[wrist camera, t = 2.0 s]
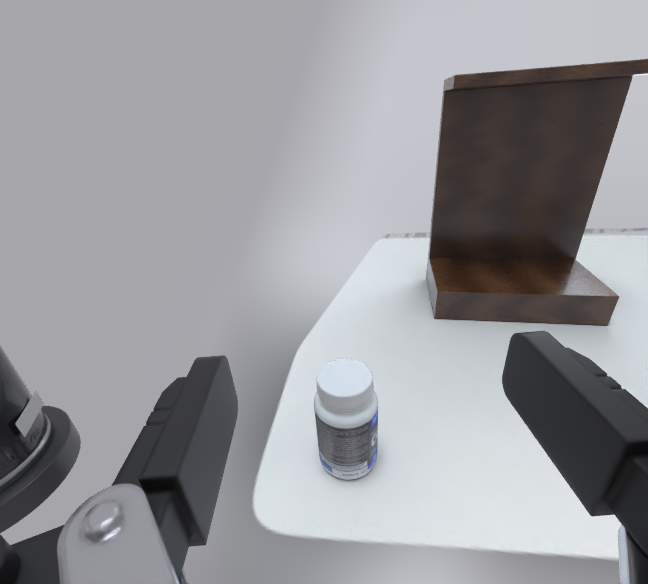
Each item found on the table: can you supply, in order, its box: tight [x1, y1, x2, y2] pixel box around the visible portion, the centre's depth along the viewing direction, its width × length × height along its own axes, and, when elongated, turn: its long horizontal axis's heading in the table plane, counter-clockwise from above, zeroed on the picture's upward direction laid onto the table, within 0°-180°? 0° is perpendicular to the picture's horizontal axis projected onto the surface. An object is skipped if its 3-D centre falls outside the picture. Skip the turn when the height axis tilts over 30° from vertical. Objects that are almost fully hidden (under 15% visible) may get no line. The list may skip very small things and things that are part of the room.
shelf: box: [426, 59, 648, 325], centre depth 41 cm, size 20×12×27 cm, turn 80°
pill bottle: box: [314, 358, 378, 480], centre depth 26 cm, size 5×5×8 cm
